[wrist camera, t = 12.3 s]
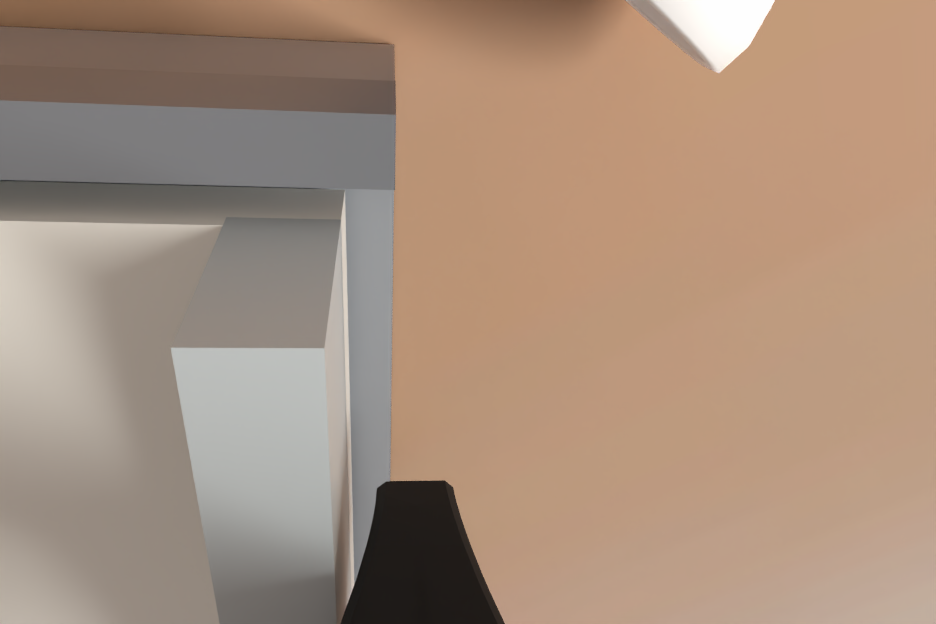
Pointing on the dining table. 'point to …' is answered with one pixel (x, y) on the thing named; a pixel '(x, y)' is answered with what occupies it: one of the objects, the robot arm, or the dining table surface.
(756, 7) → the binoculars
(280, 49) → the housing
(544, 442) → the dining table surface
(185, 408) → the lid
